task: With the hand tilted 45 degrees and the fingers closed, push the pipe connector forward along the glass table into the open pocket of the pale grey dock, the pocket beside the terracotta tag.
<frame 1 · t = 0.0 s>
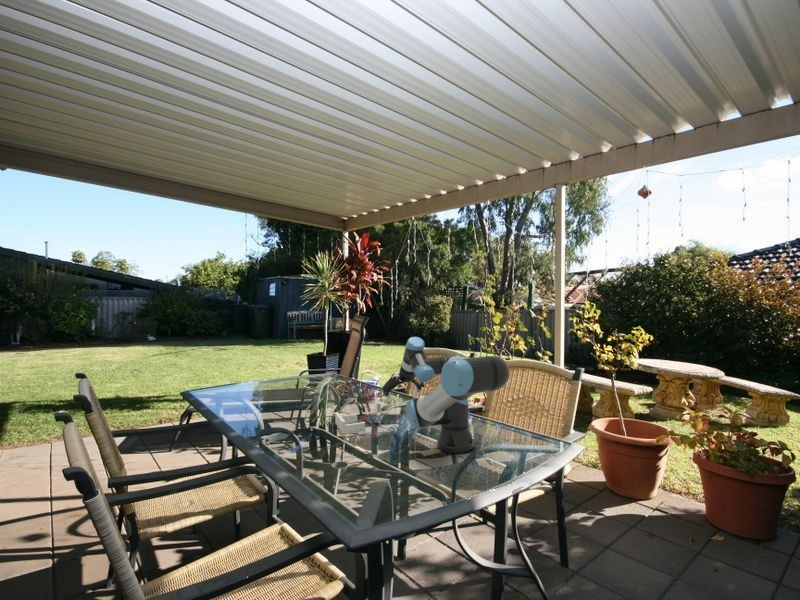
hand: (400, 398, 202), 15 cm above the table, tool tilted 35°, fingers open, 13 cm apart
pipe connector: (379, 423, 213), on the table
dock: (357, 426, 209), on the table
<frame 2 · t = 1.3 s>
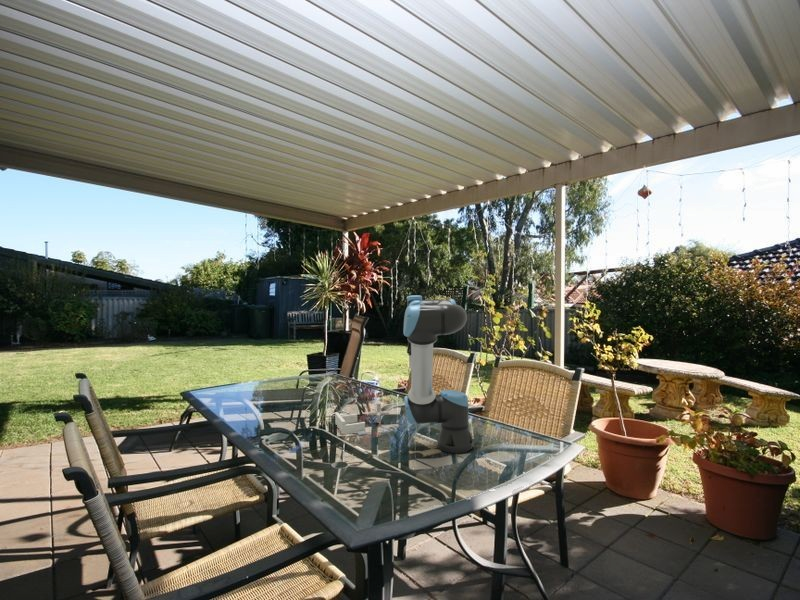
hand: (416, 370, 211), 26 cm above the table, tool pointing down, fingers open, 12 cm apart
nothing on the table moved.
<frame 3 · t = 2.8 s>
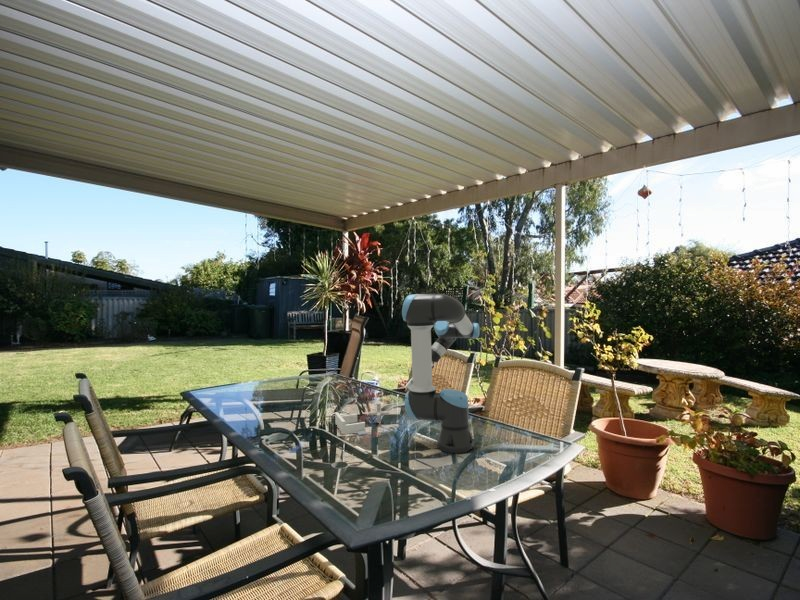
hand: (407, 387, 218), 16 cm above the table, tool tilted 45°, fingers closed
nothing on the table moved.
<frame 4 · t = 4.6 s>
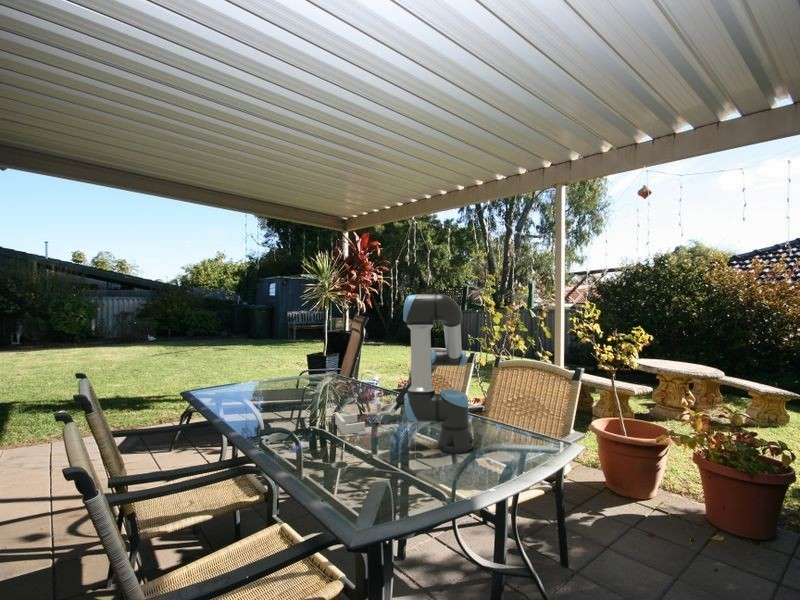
hand: (389, 414, 215), 4 cm above the table, tool tilted 45°, fingers closed
pipe connector: (379, 423, 213), on the table, touching gripper
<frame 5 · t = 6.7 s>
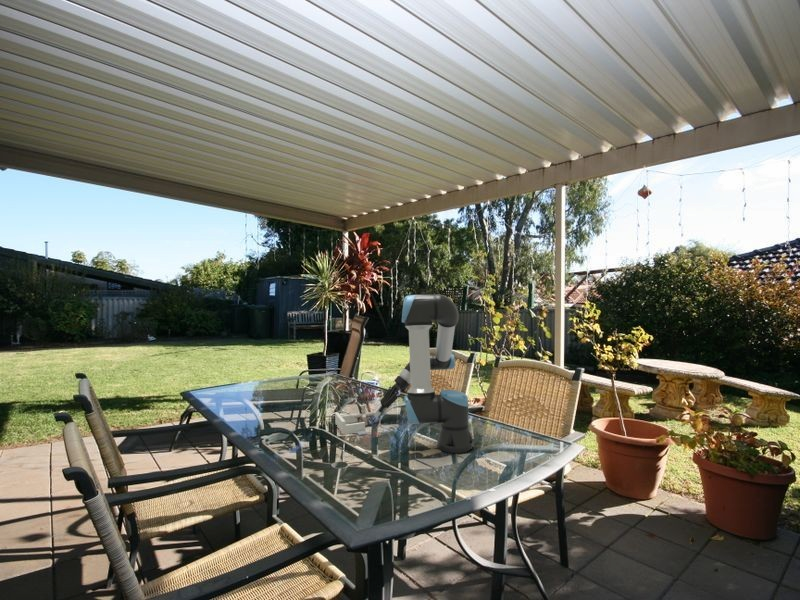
hand: (374, 416, 213), 3 cm above the table, tool tilted 45°, fingers closed
pipe connector: (365, 425, 211), on the table, touching gripper
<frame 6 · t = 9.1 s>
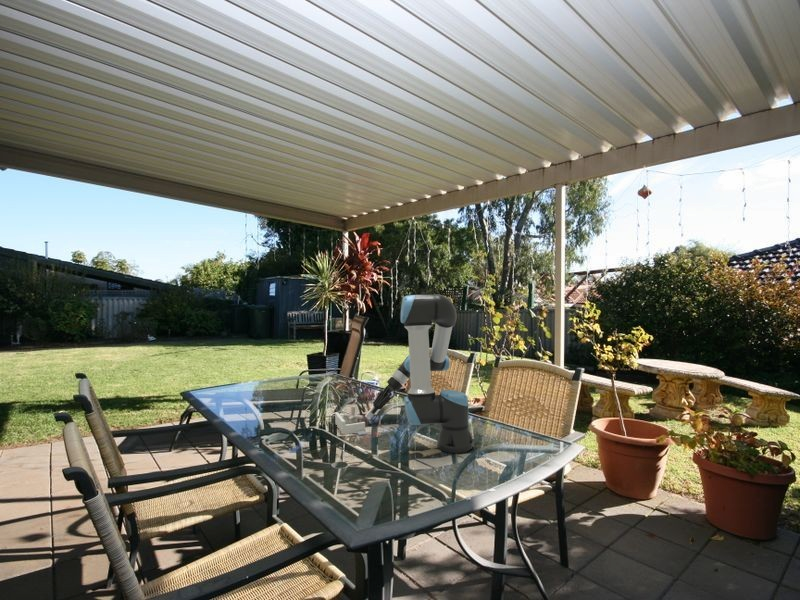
hand: (367, 418, 211), 4 cm above the table, tool tilted 45°, fingers closed
pipe connector: (353, 427, 209), on the table
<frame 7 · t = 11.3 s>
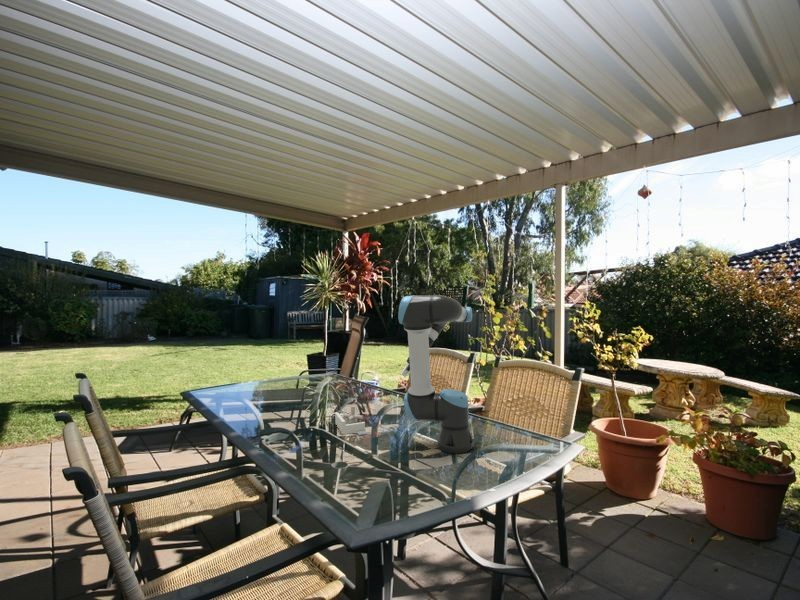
hand: (402, 375, 215), 23 cm above the table, tool tilted 40°, fingers closed
nothing on the table moved.
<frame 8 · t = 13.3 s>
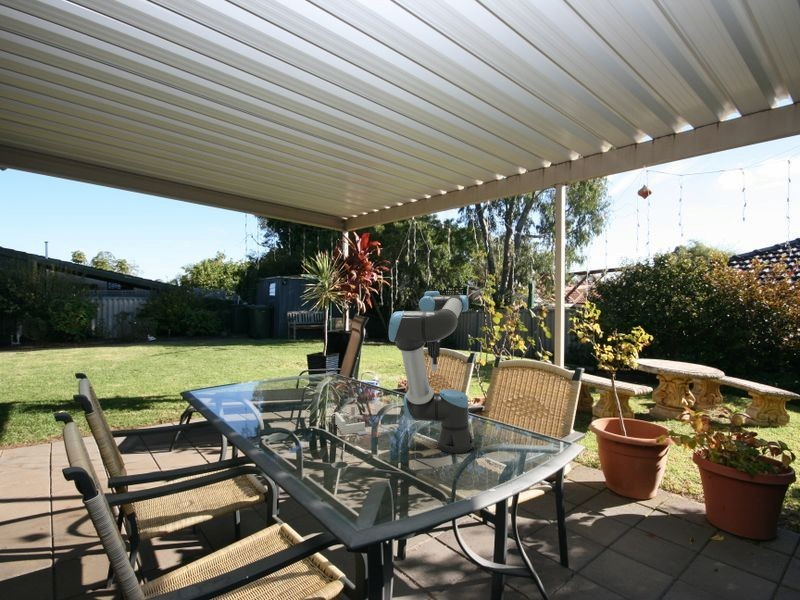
hand: (434, 370, 209), 26 cm above the table, tool pointing down, fingers closed
nothing on the table moved.
at the end: pipe connector inside the target area (1.6 cm from its centre), on the table; pipe connector moved 13.1 cm from its start; the gripper is holding nothing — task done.
